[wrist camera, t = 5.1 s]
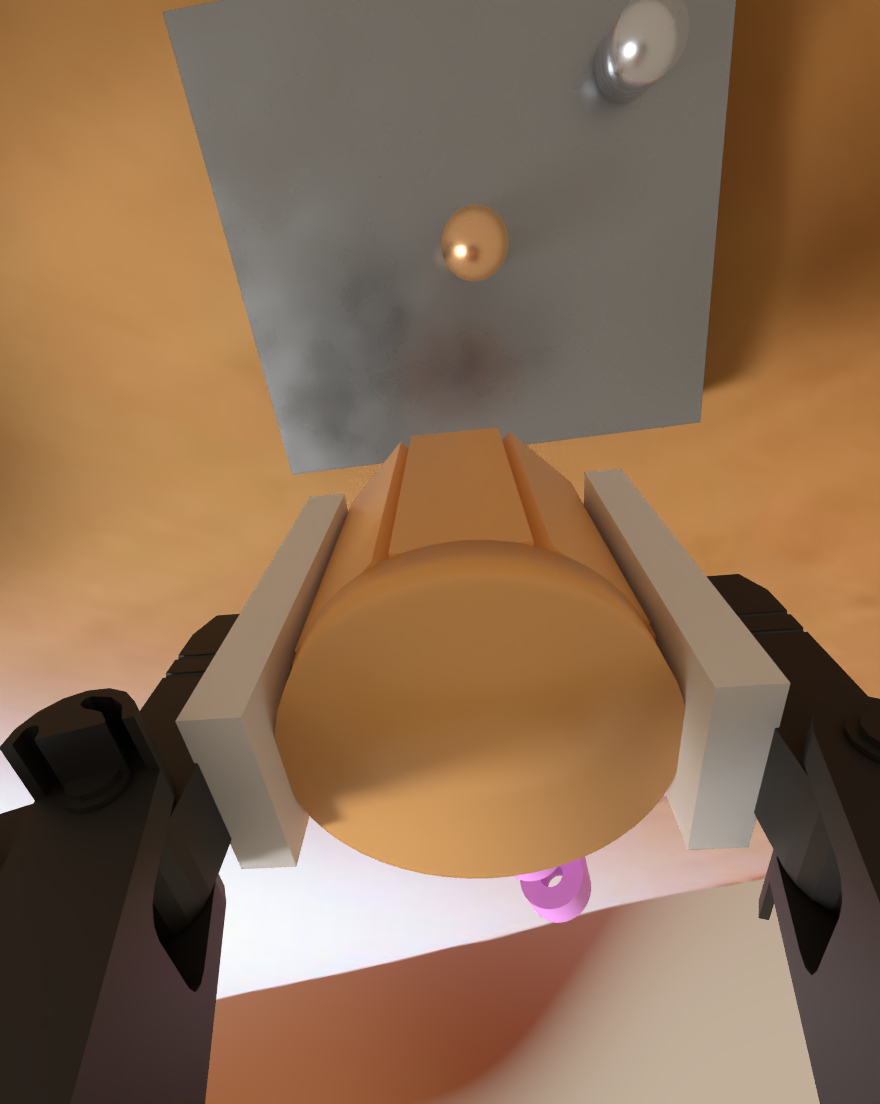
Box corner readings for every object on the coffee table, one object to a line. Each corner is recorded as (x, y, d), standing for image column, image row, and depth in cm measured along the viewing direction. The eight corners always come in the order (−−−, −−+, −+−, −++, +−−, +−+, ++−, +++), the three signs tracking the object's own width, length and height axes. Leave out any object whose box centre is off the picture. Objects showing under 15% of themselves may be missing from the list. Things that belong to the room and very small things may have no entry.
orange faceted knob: (370, 640, 14) (321, 887, 8) (329, 439, 11) (223, 603, 6) (577, 623, 14) (667, 869, 8) (581, 414, 11) (712, 561, 6)
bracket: (519, 817, 37) (533, 929, 31) (486, 764, 34) (494, 874, 28) (715, 760, 34) (774, 871, 28) (694, 698, 32) (752, 804, 25)
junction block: (309, 451, 25) (262, 515, 19) (204, 47, 18) (78, -60, 12) (672, 403, 23) (751, 455, 17) (699, -49, 17) (841, -225, 11)
